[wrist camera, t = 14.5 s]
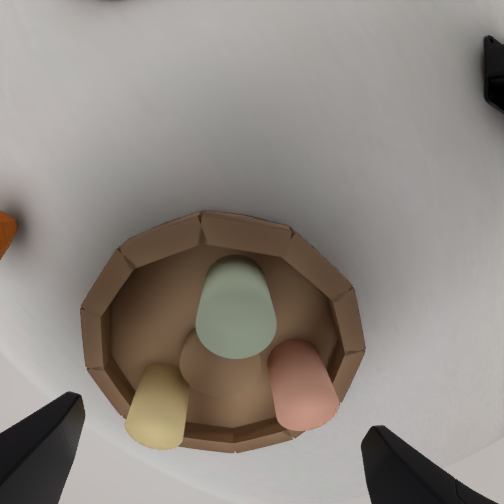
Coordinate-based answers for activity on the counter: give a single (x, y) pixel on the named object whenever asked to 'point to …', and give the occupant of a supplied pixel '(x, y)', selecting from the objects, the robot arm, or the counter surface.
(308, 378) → the bead coral
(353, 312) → the groove tray
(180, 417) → the bead mustard
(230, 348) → the bead sage
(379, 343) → the counter surface
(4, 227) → the carrot
